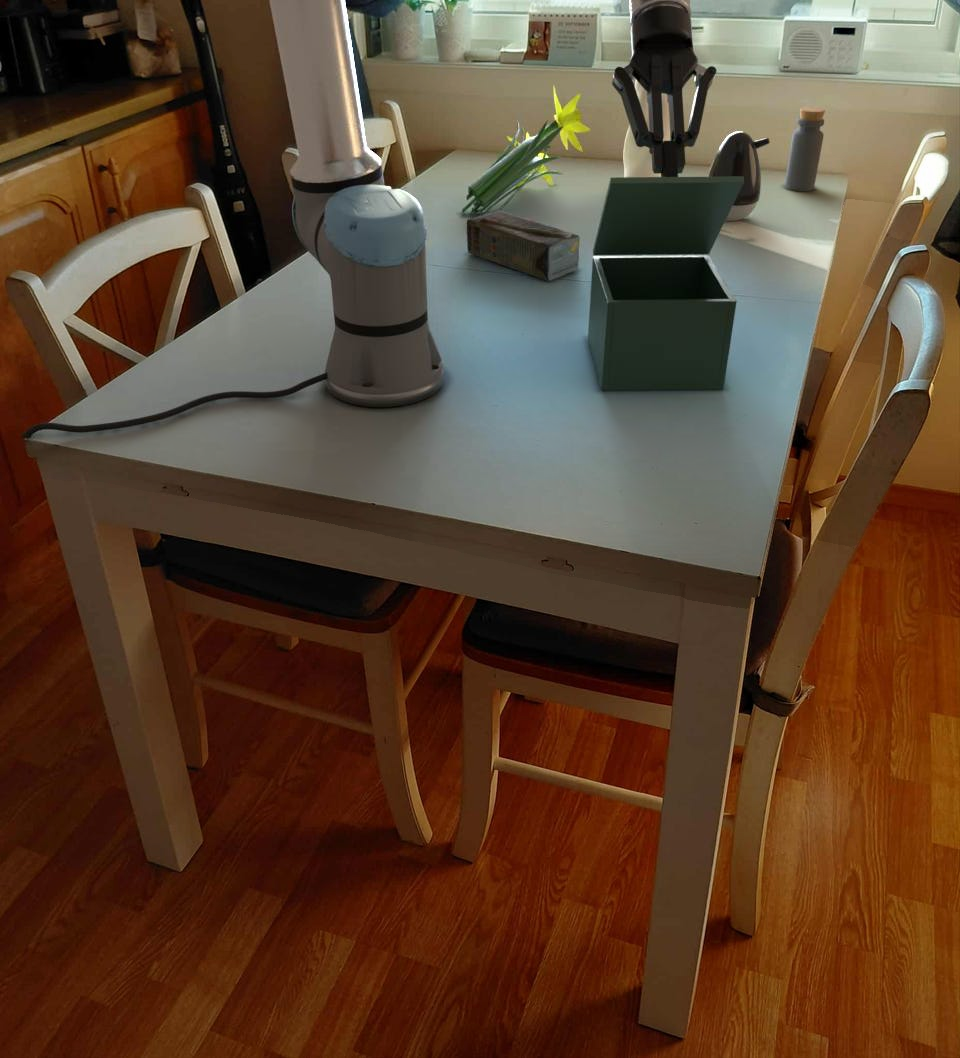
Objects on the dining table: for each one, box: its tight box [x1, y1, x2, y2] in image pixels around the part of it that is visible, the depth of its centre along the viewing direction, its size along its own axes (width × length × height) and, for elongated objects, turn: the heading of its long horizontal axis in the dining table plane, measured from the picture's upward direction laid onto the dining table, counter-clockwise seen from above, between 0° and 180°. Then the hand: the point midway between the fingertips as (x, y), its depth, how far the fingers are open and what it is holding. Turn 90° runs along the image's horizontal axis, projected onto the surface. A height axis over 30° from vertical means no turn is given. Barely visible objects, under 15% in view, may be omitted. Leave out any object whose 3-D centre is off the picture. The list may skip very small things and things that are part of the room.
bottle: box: [784, 106, 826, 192], centre depth 196 cm, size 6×6×15 cm
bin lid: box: [592, 176, 744, 256], centre depth 123 cm, size 17×16×1 cm
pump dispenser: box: [707, 131, 770, 222], centre depth 180 cm, size 10×10×15 cm
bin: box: [587, 254, 738, 392], centre depth 128 cm, size 17×16×12 cm
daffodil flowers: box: [461, 84, 591, 216], centre depth 192 cm, size 17×15×35 cm
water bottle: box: [622, 79, 671, 177], centre depth 196 cm, size 10×9×28 cm
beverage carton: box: [466, 209, 581, 282], centre depth 162 cm, size 8×19×7 cm, turn 45°
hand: (670, 195), depth 119 cm, fingers closed
